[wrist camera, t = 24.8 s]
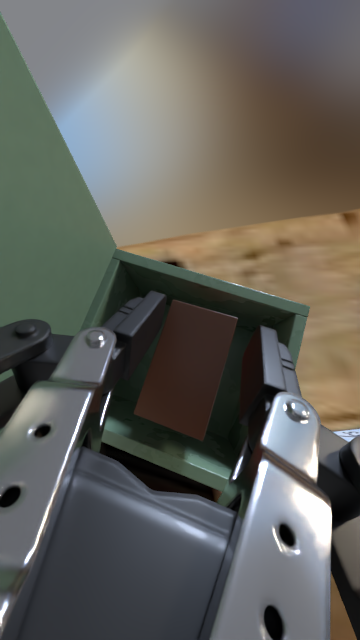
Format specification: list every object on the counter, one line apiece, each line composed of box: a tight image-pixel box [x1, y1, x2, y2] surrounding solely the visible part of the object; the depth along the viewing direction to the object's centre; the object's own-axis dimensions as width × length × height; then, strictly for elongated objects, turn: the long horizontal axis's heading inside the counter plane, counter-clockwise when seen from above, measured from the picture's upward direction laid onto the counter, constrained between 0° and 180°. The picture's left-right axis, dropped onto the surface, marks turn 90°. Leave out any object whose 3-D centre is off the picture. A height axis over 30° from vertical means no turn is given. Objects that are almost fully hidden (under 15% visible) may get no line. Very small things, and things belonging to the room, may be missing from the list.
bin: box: [80, 249, 310, 492], centre depth 19 cm, size 15×13×10 cm
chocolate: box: [134, 300, 238, 441], centre depth 14 cm, size 4×6×8 cm, turn 161°
